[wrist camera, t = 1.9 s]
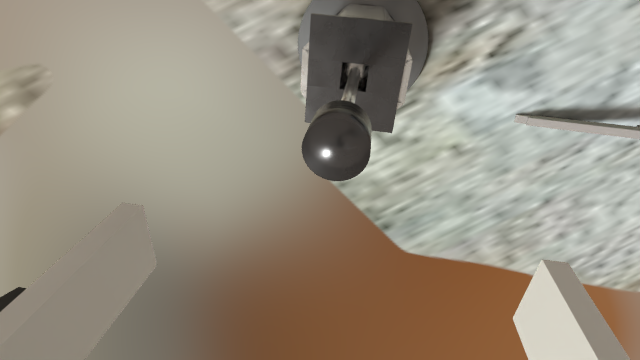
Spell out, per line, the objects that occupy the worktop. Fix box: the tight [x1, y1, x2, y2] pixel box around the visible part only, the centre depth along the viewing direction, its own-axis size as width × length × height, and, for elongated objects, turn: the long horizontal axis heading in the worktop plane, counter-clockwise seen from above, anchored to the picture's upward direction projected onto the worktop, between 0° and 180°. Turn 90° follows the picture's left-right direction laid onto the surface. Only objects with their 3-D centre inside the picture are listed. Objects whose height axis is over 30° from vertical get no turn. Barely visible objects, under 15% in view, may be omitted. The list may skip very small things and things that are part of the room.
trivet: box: [298, 0, 428, 90], centre depth 45 cm, size 16×16×1 cm
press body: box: [301, 4, 413, 133], centre depth 39 cm, size 13×10×15 cm
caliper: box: [514, 114, 640, 139], centre depth 43 cm, size 20×1×6 cm, turn 89°
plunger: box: [302, 62, 372, 181], centre depth 26 cm, size 8×8×18 cm
